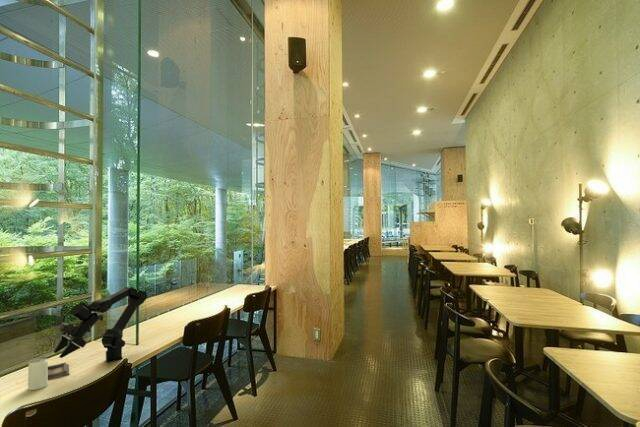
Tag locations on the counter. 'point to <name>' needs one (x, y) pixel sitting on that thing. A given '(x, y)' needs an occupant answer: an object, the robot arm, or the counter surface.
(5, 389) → the counter surface
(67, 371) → the holder
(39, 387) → the can
